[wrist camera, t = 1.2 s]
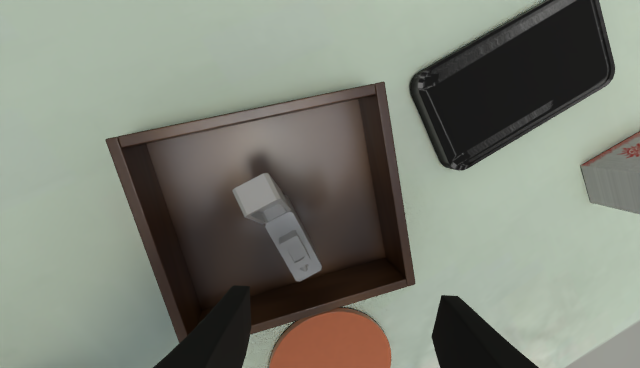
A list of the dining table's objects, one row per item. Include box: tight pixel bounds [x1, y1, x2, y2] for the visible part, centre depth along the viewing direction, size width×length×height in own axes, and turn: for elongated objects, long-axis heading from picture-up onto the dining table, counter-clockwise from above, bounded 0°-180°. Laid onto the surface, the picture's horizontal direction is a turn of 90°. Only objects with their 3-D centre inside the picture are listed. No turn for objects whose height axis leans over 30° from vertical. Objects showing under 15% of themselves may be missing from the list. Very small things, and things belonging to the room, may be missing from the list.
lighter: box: [233, 173, 322, 282], centre depth 17 cm, size 7×2×8 cm, turn 26°
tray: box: [106, 82, 415, 343], centre depth 20 cm, size 15×13×4 cm
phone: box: [410, 0, 615, 170], centre depth 23 cm, size 8×1×15 cm
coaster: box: [269, 308, 391, 368], centre depth 25 cm, size 10×10×1 cm
